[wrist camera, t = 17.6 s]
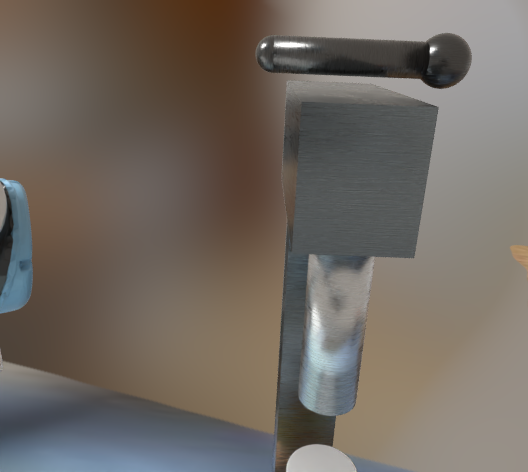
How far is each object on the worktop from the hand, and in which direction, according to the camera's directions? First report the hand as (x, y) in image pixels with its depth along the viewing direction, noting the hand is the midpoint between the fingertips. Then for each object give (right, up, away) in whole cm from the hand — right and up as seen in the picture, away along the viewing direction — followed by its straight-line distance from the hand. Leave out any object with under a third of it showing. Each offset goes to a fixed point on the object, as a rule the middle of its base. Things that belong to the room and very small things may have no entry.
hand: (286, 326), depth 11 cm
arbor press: (+2, -21, +23) cm, 32 cm away
